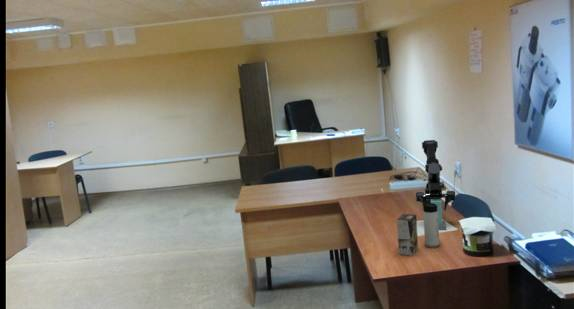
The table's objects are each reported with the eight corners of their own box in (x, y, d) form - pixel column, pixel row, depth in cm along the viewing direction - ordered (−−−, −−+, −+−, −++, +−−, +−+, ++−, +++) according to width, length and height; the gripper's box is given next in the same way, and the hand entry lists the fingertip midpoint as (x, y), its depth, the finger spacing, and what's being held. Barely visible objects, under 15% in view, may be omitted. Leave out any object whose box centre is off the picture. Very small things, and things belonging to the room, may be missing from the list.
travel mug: (422, 243, 215) (420, 202, 211) (436, 241, 215) (434, 200, 212) (427, 248, 209) (425, 206, 205) (441, 246, 209) (439, 204, 206)
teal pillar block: (431, 221, 234) (430, 199, 231) (441, 221, 232) (440, 198, 230) (432, 225, 229) (430, 202, 227) (442, 225, 228) (441, 201, 225)
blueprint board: (439, 218, 245) (439, 217, 245) (458, 231, 225) (458, 229, 225) (397, 225, 242) (397, 223, 242) (413, 238, 222) (413, 236, 222)
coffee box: (412, 255, 203) (410, 220, 200) (398, 254, 207) (396, 219, 204) (418, 248, 211) (416, 214, 208) (404, 246, 214) (402, 213, 211)
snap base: (428, 224, 236) (428, 220, 235) (445, 224, 234) (444, 220, 233) (429, 230, 228) (428, 226, 228) (446, 230, 226) (446, 226, 226)
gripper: (414, 176, 232) (416, 204, 224) (454, 175, 228) (457, 203, 219) (415, 187, 241) (417, 214, 233) (453, 186, 236) (456, 213, 228)
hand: (436, 211), depth 228 cm, fingers open, 8 cm apart
